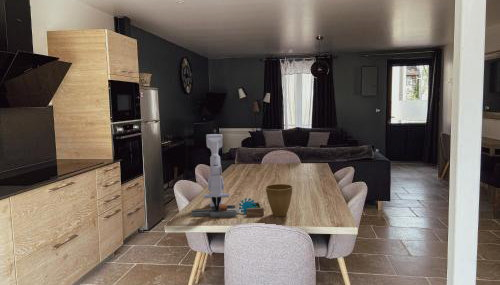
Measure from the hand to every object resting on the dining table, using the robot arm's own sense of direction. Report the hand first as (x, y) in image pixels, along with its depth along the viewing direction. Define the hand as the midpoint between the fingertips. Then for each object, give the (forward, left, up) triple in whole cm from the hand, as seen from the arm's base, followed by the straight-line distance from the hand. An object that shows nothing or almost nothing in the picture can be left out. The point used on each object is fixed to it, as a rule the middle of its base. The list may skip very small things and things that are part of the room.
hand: (216, 210), depth 213 cm
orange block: (0, +7, -2) cm, 7 cm away
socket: (0, -2, -2) cm, 3 cm away
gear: (0, +18, -2) cm, 18 cm away
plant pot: (+7, +35, -2) cm, 36 cm away
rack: (0, +21, -2) cm, 21 cm away
